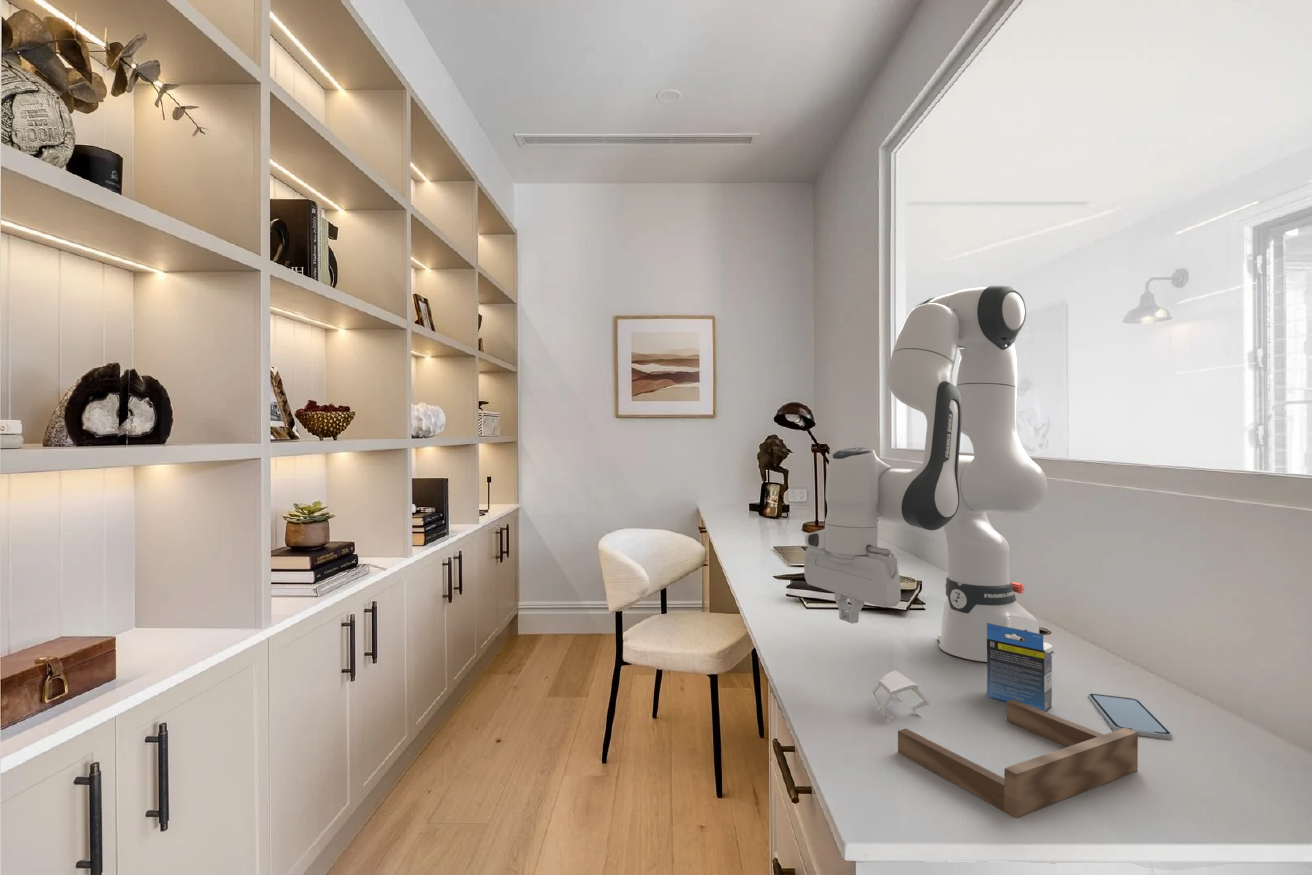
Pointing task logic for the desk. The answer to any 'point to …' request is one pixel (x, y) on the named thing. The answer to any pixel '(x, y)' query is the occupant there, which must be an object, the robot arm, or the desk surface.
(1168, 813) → the desk surface
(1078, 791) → the walnut bay
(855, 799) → the desk surface
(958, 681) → the desk surface
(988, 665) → the label tape cartridge
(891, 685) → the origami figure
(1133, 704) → the smartphone
